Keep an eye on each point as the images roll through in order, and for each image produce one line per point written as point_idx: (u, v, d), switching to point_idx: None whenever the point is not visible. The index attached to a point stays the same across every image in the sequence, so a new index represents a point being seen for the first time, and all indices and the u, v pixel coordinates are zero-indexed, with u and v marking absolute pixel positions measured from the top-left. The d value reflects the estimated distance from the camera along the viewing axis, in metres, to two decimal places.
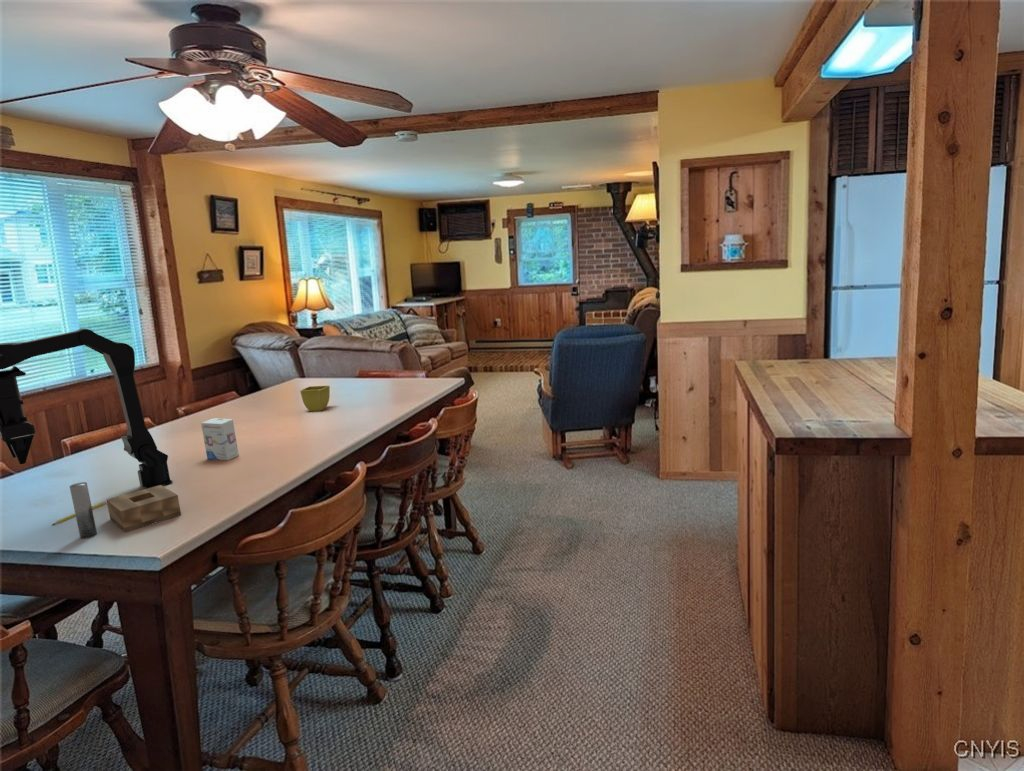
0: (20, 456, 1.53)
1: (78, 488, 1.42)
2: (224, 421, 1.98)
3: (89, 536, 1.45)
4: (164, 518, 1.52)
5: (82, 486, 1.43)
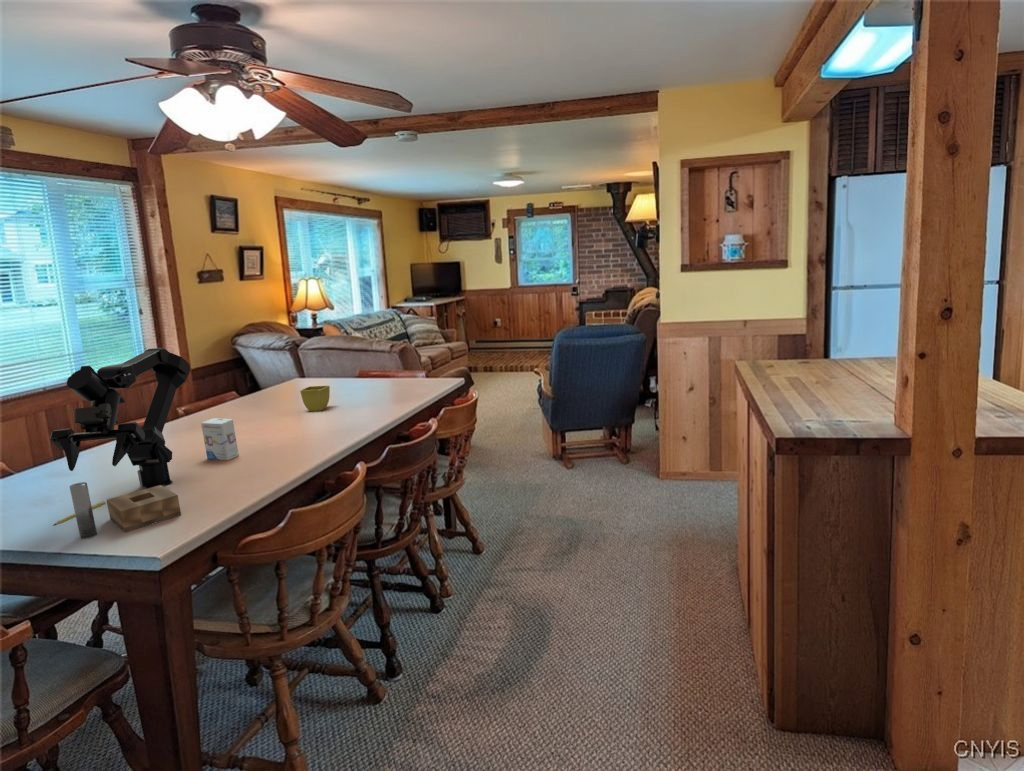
0: (118, 457, 1.53)
1: (78, 488, 1.42)
2: (224, 421, 1.98)
3: (89, 536, 1.45)
4: (164, 518, 1.52)
5: (82, 486, 1.43)
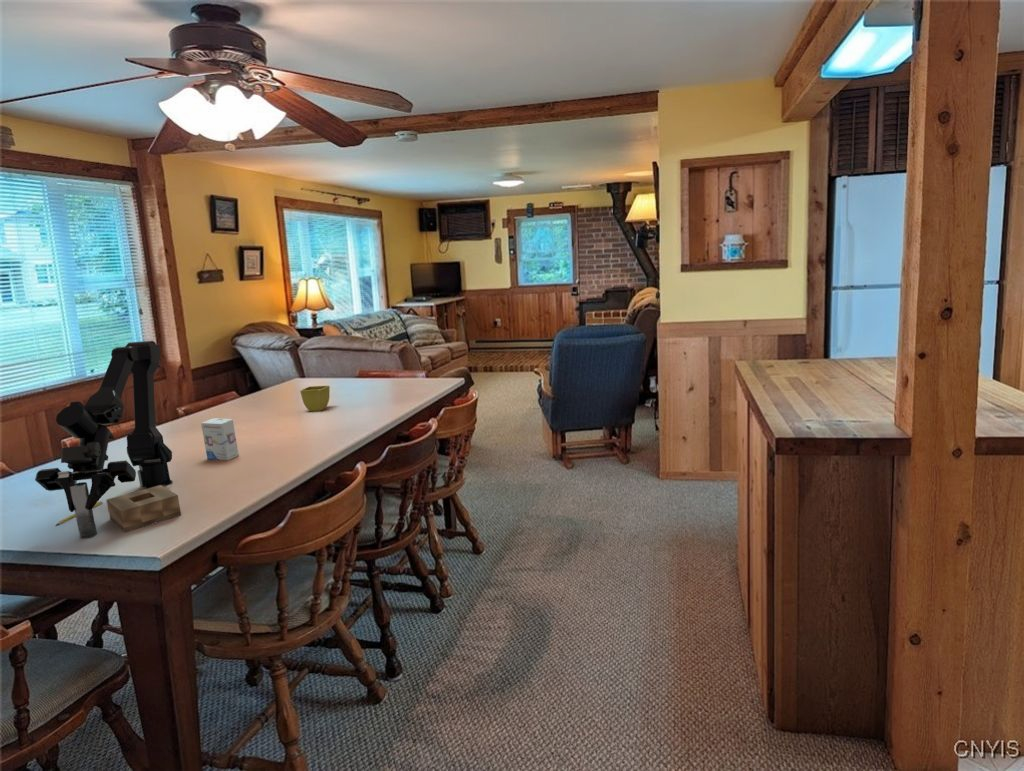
0: (93, 500, 1.45)
1: (78, 488, 1.42)
2: (224, 421, 1.98)
3: (89, 536, 1.45)
4: (164, 518, 1.52)
5: (82, 486, 1.43)
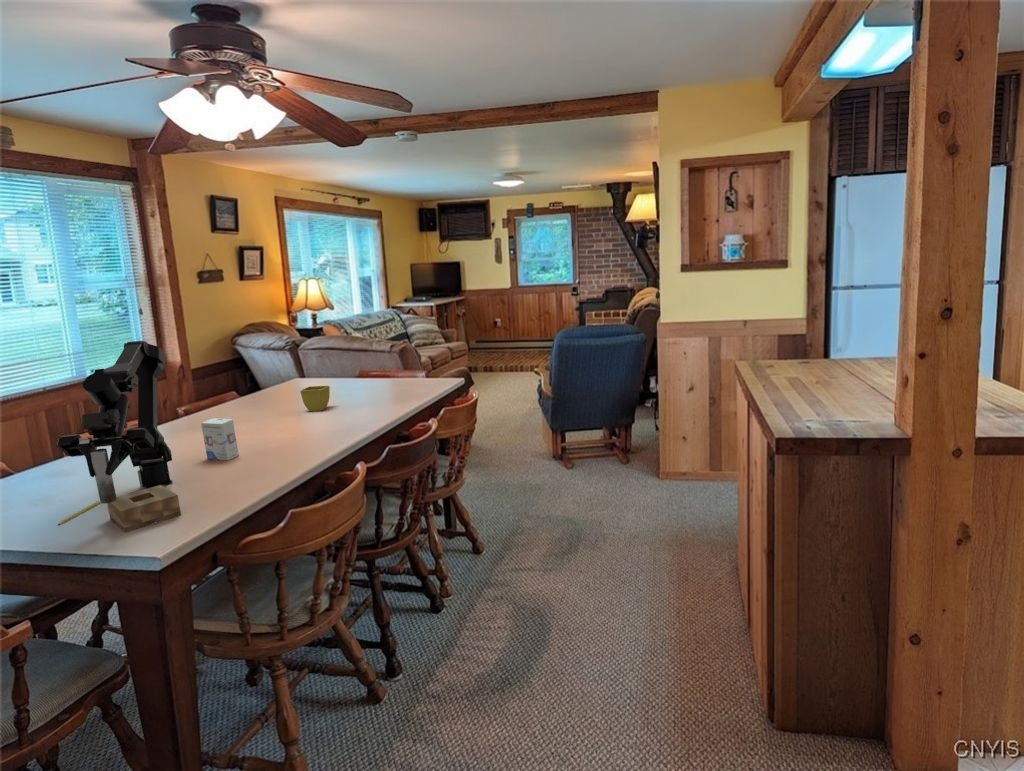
0: (113, 465, 1.47)
1: (98, 454, 1.45)
2: (224, 421, 1.98)
3: (109, 501, 1.48)
4: (164, 518, 1.52)
5: (102, 452, 1.46)
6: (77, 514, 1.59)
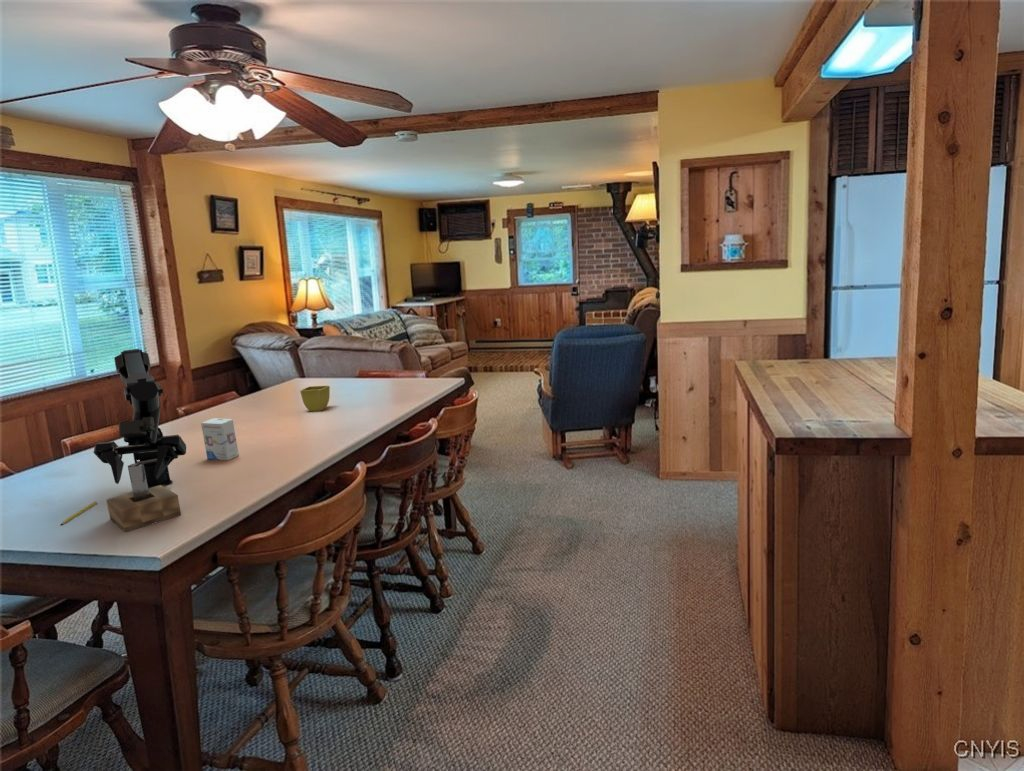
0: (160, 470, 1.53)
1: (136, 468, 1.51)
2: (224, 421, 1.98)
3: None
4: (164, 518, 1.52)
5: (140, 467, 1.51)
6: (77, 514, 1.59)
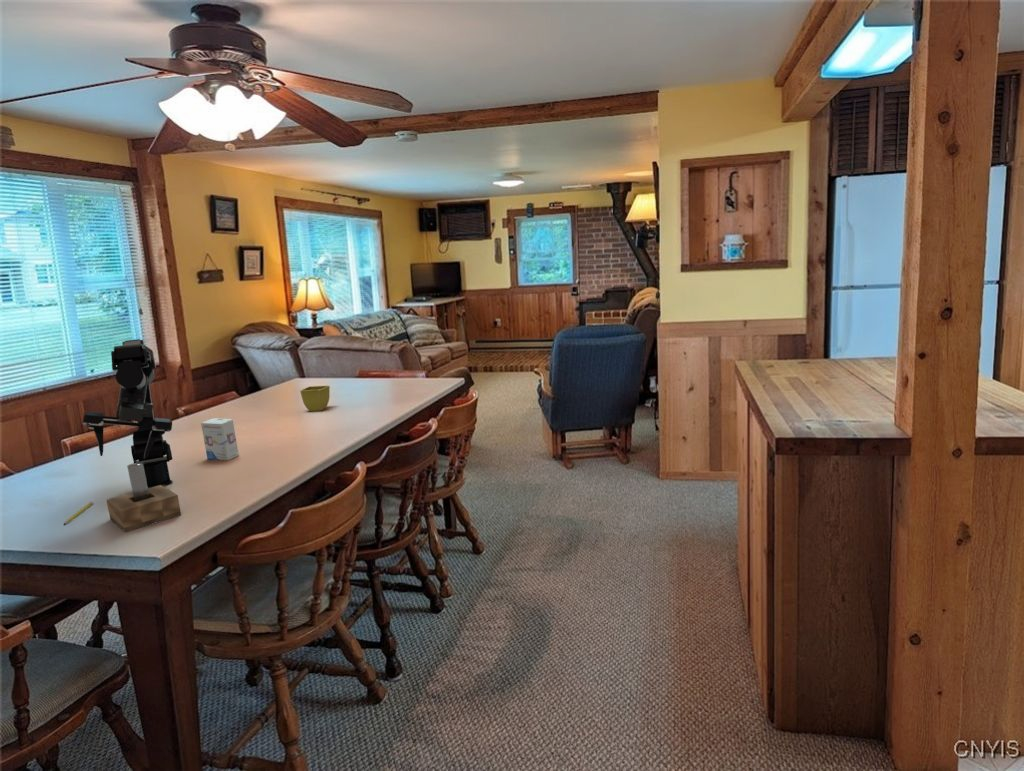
0: (149, 450, 1.62)
1: (135, 467, 1.51)
2: (224, 421, 1.98)
3: None
4: (164, 518, 1.52)
5: (139, 465, 1.52)
6: (77, 514, 1.59)
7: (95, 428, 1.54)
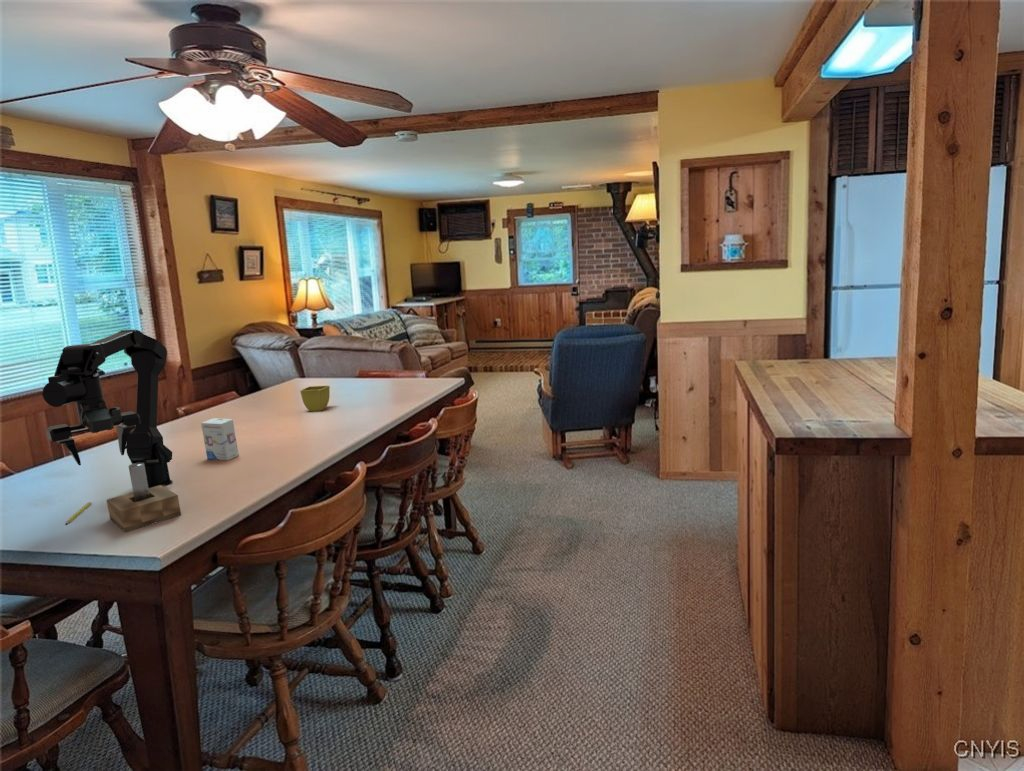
0: None
1: (137, 468, 1.51)
2: (224, 421, 1.98)
3: None
4: (164, 518, 1.52)
5: (140, 466, 1.52)
6: (78, 514, 1.59)
7: (66, 443, 1.51)
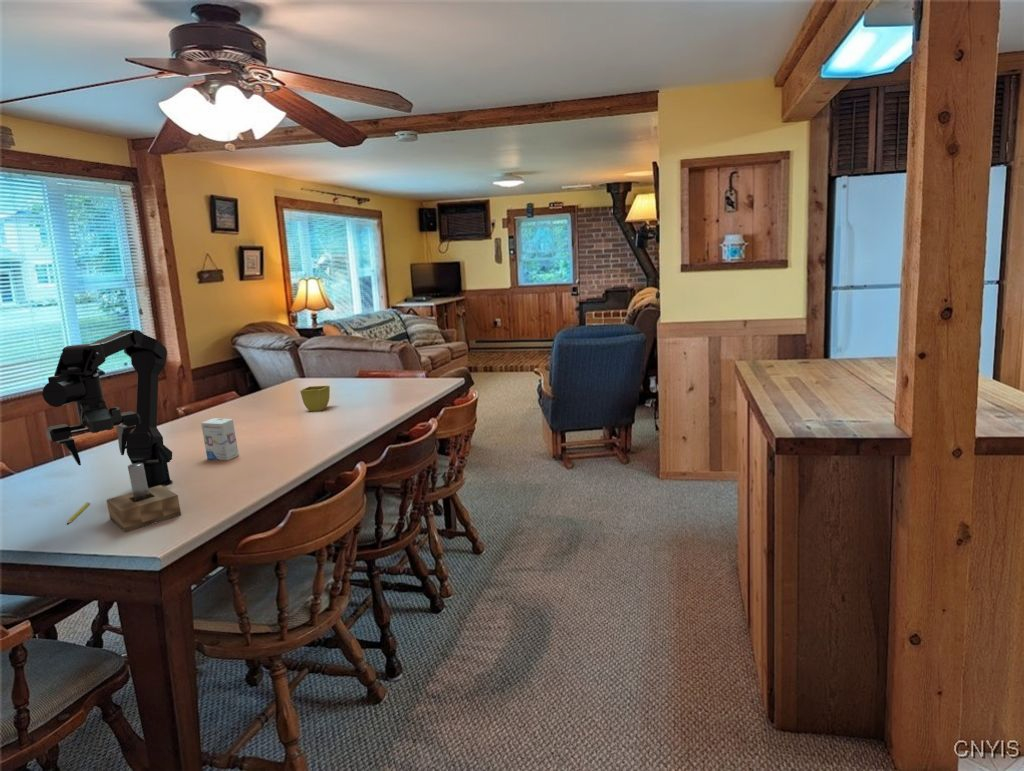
0: None
1: (136, 468, 1.51)
2: (224, 421, 1.98)
3: None
4: (164, 518, 1.52)
5: (139, 466, 1.52)
6: (78, 514, 1.59)
7: (66, 443, 1.51)
